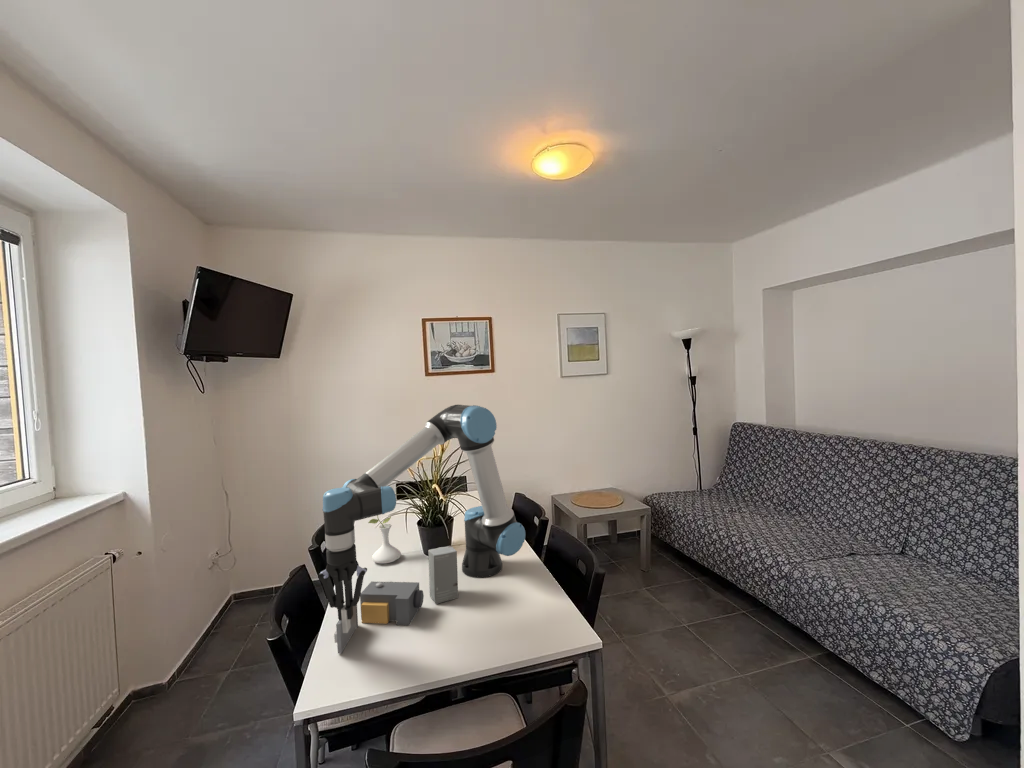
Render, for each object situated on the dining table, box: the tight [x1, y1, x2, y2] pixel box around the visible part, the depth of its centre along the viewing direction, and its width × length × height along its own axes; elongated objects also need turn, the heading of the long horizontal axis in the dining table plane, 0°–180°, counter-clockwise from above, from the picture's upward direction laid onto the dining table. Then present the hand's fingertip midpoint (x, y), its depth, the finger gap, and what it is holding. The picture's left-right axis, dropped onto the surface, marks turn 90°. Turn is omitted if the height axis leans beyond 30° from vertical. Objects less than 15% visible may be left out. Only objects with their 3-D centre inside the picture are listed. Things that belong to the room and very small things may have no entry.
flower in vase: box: [367, 515, 402, 564], centre depth 177 cm, size 13×11×25 cm
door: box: [333, 606, 358, 654], centre depth 124 cm, size 12×2×8 cm, turn 1°
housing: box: [356, 581, 425, 629], centre depth 136 cm, size 18×12×9 cm, turn 83°
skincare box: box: [428, 545, 459, 605], centre depth 146 cm, size 8×7×16 cm
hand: (346, 630), depth 121 cm, fingers closed
